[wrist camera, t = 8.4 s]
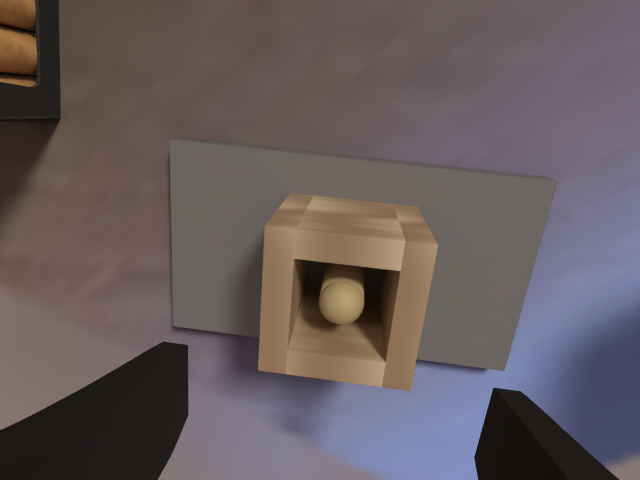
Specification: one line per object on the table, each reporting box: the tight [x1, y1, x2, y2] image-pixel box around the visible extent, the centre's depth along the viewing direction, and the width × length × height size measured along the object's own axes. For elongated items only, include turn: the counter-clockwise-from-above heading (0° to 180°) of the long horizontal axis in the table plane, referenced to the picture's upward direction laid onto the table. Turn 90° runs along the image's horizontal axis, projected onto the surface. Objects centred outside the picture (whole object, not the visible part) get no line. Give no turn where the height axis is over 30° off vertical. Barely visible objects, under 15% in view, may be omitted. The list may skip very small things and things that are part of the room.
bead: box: [258, 193, 438, 391], centre depth 16 cm, size 5×5×5 cm
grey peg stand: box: [169, 138, 557, 371], centre depth 17 cm, size 16×9×6 cm, turn 85°
